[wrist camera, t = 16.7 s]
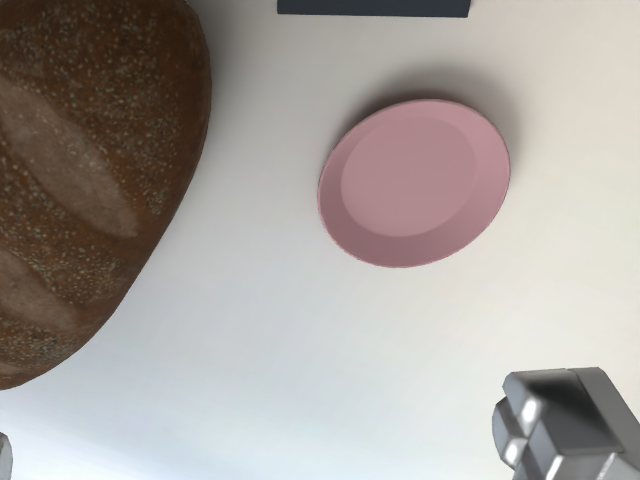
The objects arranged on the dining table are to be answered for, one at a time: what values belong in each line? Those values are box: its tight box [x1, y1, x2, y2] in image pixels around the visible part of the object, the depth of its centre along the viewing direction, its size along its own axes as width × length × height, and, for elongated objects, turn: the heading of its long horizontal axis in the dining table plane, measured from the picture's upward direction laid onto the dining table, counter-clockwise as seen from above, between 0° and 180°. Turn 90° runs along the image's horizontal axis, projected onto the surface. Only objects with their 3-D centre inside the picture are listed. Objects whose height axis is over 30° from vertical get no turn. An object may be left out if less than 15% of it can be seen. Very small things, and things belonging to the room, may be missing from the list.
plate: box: [317, 99, 510, 268], centre depth 43 cm, size 14×14×2 cm
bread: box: [0, 0, 212, 390], centre depth 38 cm, size 16×36×8 cm, turn 145°
